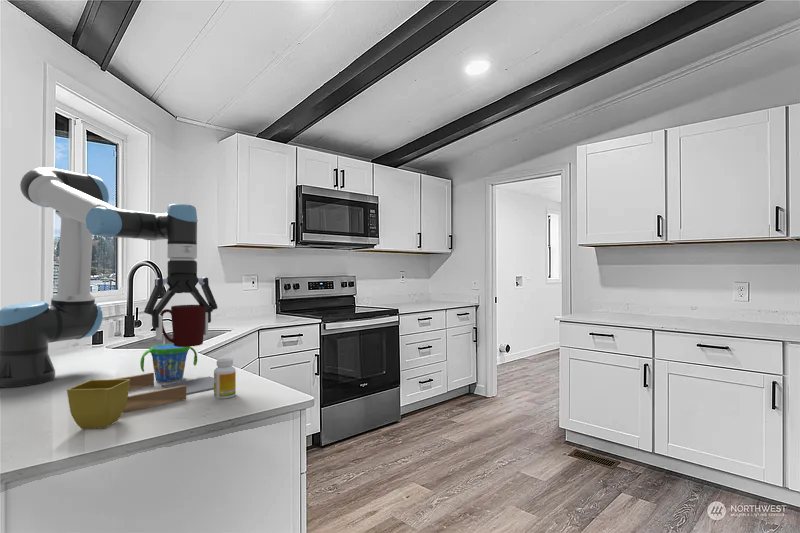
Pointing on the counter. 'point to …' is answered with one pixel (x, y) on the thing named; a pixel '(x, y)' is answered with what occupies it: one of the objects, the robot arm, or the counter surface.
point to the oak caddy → (151, 393)
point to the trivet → (194, 385)
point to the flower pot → (98, 402)
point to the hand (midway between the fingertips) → (182, 337)
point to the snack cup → (168, 361)
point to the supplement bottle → (224, 379)
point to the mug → (186, 325)
